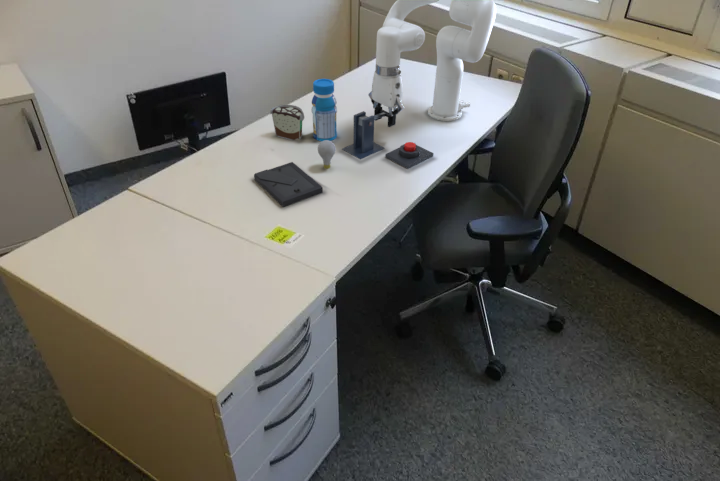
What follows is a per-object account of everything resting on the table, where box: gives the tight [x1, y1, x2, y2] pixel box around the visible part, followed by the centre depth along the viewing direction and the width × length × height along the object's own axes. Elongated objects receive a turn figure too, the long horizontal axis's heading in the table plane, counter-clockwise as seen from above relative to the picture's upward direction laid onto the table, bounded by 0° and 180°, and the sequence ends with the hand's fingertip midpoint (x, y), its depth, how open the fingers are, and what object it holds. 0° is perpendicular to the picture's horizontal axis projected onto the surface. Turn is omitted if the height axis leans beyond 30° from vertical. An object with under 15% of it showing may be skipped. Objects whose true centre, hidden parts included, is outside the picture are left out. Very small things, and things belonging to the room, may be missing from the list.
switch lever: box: [358, 108, 390, 126], centre depth 176 cm, size 12×6×2 cm, turn 133°
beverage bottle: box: [311, 78, 338, 142], centre depth 181 cm, size 8×8×20 cm
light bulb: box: [317, 140, 337, 170], centre depth 167 cm, size 5×5×10 cm
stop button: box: [404, 141, 417, 152], centre depth 173 cm, size 4×4×2 cm
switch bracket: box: [341, 110, 385, 160], centre depth 176 cm, size 11×9×13 cm
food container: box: [269, 104, 305, 141], centre depth 185 cm, size 12×6×10 cm, turn 65°
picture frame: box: [253, 161, 324, 208], centre depth 162 cm, size 13×2×18 cm
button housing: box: [384, 143, 434, 170], centre depth 175 cm, size 12×10×4 cm
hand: (384, 122), depth 181 cm, fingers closed on switch lever, 5 cm apart
